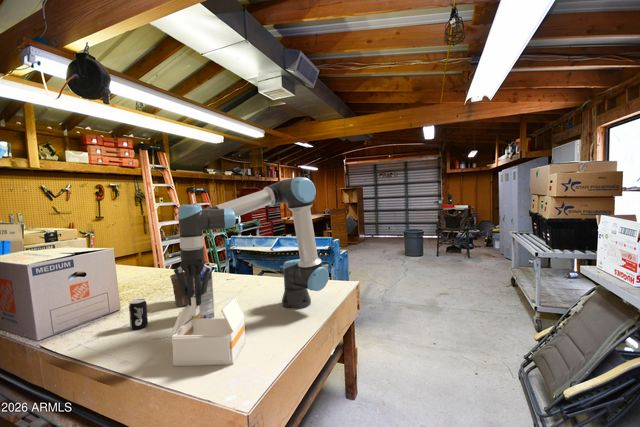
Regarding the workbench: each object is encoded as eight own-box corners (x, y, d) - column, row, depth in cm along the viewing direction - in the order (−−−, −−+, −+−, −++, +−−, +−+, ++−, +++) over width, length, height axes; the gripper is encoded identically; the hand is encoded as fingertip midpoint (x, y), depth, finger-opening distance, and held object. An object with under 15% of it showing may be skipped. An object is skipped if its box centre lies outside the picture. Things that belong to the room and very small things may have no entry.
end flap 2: (244, 316, 105) (234, 297, 105) (233, 331, 93) (222, 309, 93) (243, 316, 105) (233, 297, 105) (231, 331, 93) (221, 310, 93)
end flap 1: (191, 318, 106) (198, 298, 105) (172, 333, 93) (181, 311, 93) (189, 317, 106) (197, 298, 105) (171, 332, 93) (179, 311, 93)
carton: (246, 342, 107) (244, 316, 107) (232, 366, 92) (230, 336, 91) (194, 343, 108) (192, 318, 107) (171, 367, 92) (170, 337, 92)
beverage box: (200, 321, 128) (197, 274, 127) (190, 316, 135) (187, 271, 135) (214, 317, 133) (211, 271, 132) (203, 311, 141) (201, 268, 140)
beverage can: (151, 324, 127) (149, 298, 127) (137, 331, 121) (135, 304, 120) (140, 323, 129) (139, 297, 129) (126, 329, 123) (125, 302, 123)
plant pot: (190, 296, 166) (189, 269, 165) (210, 299, 159) (208, 271, 158) (165, 306, 151) (163, 276, 150) (185, 310, 144) (183, 279, 143)
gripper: (214, 246, 102) (218, 309, 103) (179, 247, 102) (183, 310, 103) (205, 249, 94) (209, 318, 95) (167, 250, 95) (171, 319, 96)
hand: (195, 314), depth 99 cm, fingers closed
